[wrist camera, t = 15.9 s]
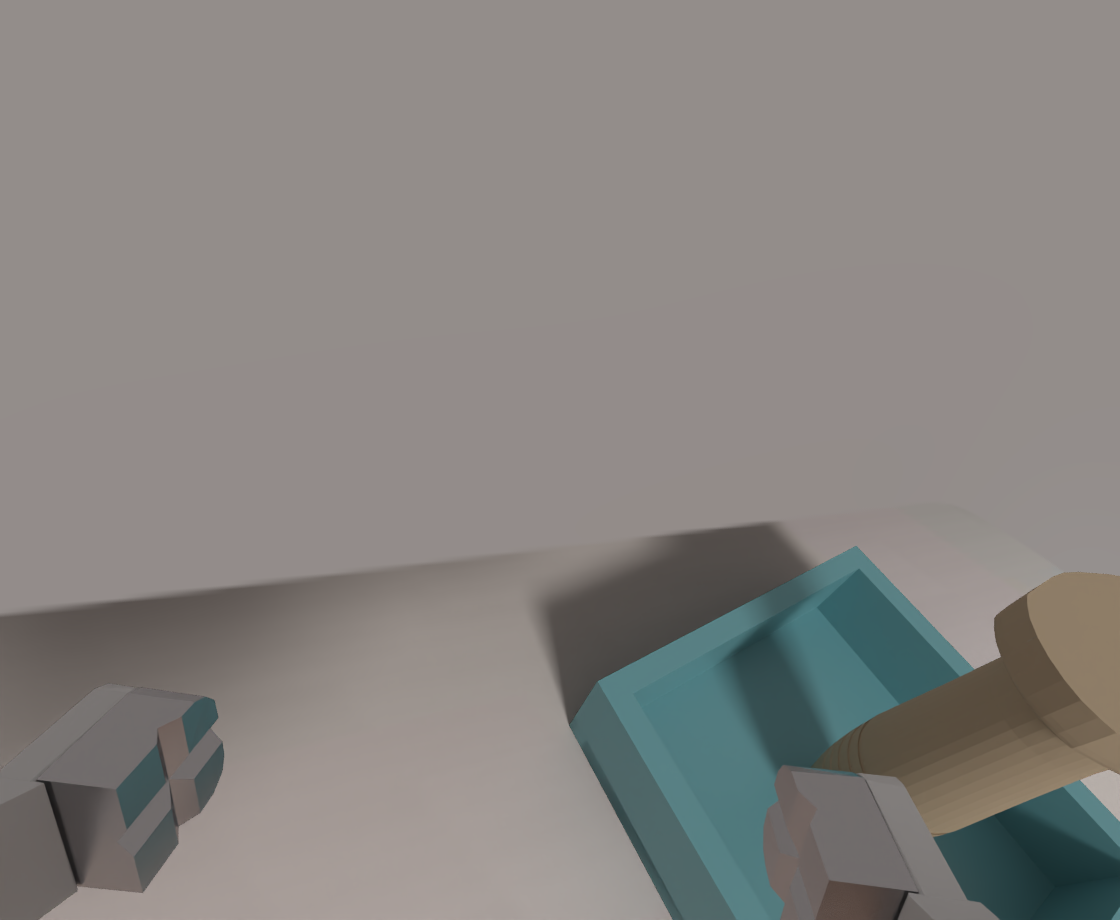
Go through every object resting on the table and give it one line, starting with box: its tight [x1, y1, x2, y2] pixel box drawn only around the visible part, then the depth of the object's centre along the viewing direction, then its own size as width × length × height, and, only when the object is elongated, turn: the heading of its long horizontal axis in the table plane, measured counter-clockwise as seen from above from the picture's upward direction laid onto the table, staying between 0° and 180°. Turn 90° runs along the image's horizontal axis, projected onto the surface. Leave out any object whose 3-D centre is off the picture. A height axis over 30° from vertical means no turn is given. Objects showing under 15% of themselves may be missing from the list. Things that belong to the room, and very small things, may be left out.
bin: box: [569, 546, 1120, 920], centre depth 24 cm, size 16×16×5 cm
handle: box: [811, 572, 1120, 837], centre depth 19 cm, size 5×6×15 cm
